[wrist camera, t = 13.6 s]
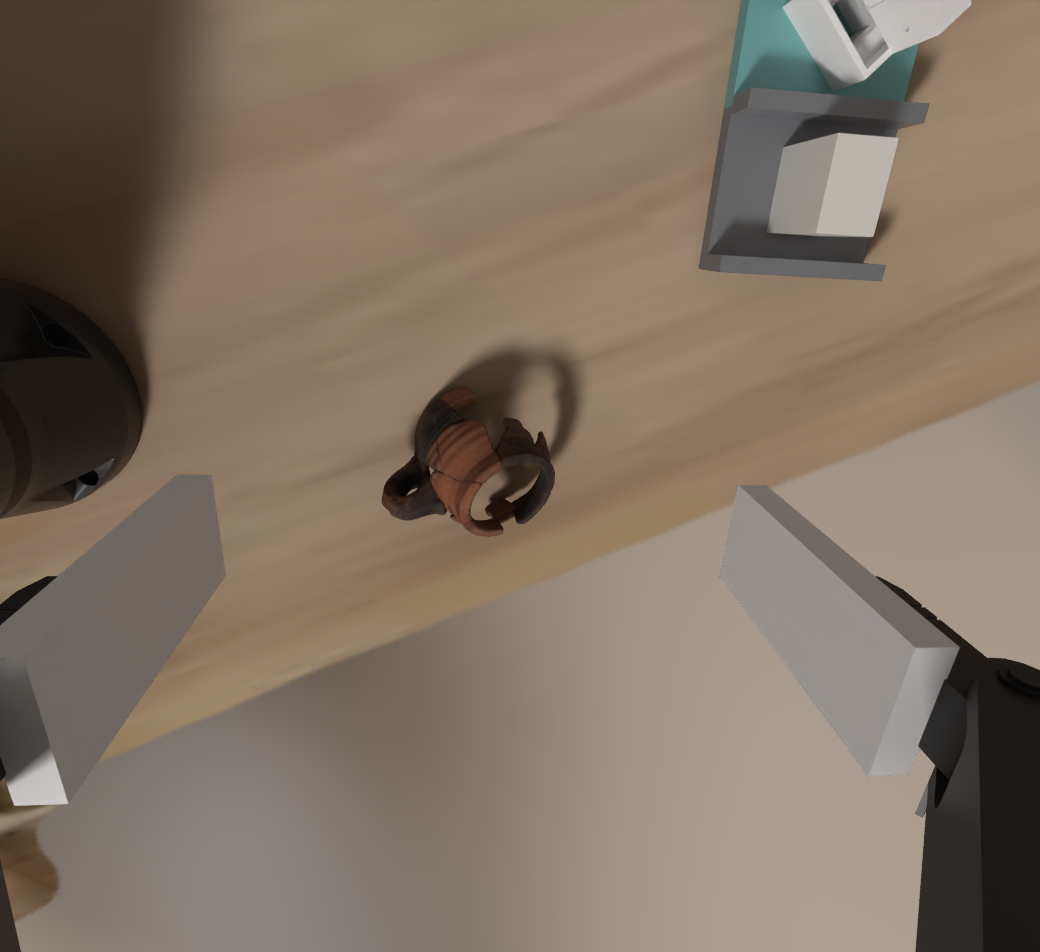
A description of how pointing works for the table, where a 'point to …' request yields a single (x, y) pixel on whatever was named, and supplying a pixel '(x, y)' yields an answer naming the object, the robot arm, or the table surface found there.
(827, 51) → the white wedge bracket
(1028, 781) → the robot arm
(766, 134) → the two-compartment cubby shelf
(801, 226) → the white rectangular block
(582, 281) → the table surface
